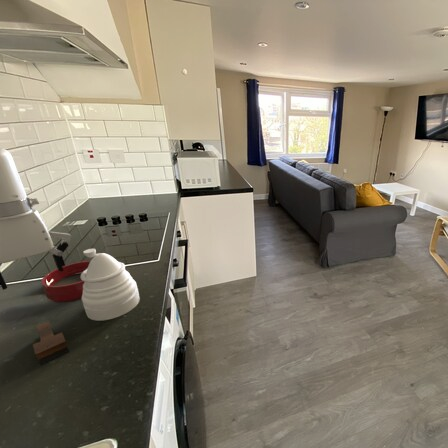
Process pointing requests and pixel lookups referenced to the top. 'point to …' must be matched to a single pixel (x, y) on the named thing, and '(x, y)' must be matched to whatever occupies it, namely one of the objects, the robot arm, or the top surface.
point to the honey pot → (107, 287)
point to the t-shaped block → (49, 344)
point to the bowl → (64, 291)
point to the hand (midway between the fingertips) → (34, 277)
